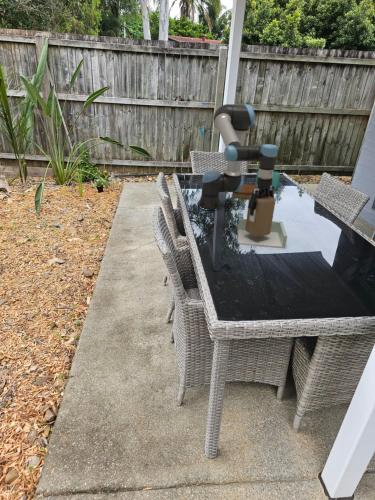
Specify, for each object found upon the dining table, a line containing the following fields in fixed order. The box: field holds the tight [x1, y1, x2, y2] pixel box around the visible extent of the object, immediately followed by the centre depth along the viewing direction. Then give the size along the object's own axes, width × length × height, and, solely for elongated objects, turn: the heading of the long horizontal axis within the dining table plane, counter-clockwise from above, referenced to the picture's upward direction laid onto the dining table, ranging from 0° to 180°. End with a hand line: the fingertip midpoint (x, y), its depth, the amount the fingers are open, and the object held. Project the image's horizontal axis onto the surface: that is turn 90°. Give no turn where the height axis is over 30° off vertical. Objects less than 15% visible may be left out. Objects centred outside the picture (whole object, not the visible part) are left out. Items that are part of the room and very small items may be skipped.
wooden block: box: [245, 195, 276, 237], centre depth 170 cm, size 10×10×20 cm
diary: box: [231, 183, 258, 201], centre depth 247 cm, size 23×19×6 cm
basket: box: [255, 171, 281, 191], centre depth 265 cm, size 19×18×13 cm
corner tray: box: [237, 218, 288, 249], centre depth 175 cm, size 24×20×7 cm
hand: (259, 218), depth 171 cm, fingers closed on wooden block, 11 cm apart
